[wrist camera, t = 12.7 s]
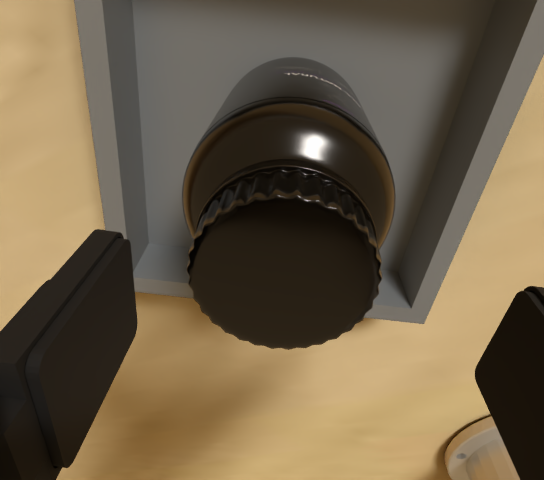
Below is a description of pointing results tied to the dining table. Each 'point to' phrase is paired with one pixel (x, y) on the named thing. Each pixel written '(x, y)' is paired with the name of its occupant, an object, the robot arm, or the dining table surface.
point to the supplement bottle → (288, 208)
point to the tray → (352, 68)
